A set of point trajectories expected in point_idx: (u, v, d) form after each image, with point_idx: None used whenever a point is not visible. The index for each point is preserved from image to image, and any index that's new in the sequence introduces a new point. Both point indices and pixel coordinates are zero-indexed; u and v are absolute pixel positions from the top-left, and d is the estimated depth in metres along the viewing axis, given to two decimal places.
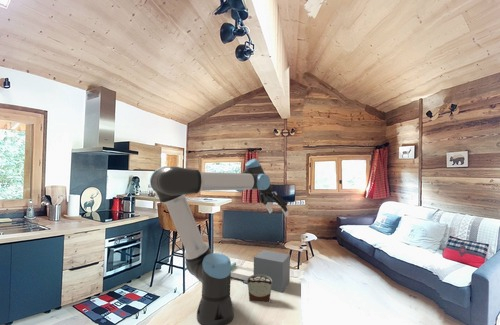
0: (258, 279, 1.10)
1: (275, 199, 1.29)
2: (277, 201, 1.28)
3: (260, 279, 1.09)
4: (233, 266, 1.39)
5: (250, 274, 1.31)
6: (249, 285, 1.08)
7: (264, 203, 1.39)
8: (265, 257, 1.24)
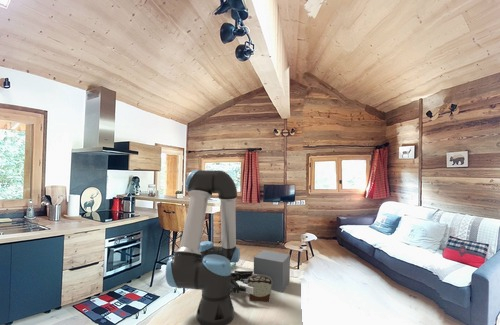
0: (258, 279, 1.10)
1: None
2: None
3: (260, 279, 1.09)
4: (233, 266, 1.39)
5: None
6: (249, 285, 1.08)
7: None
8: (265, 257, 1.24)
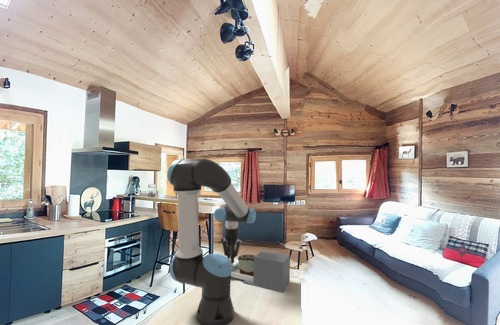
0: (248, 257, 1.32)
1: (233, 247, 1.35)
2: (233, 250, 1.35)
3: (249, 258, 1.30)
4: (236, 267, 1.38)
5: None
6: (239, 262, 1.31)
7: (228, 254, 1.36)
8: (265, 257, 1.24)
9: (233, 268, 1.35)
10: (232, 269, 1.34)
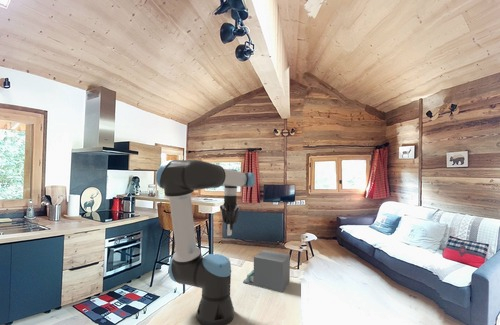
0: None
1: (232, 214, 1.37)
2: (232, 216, 1.37)
3: None
4: None
5: None
6: None
7: (227, 221, 1.38)
8: (265, 257, 1.24)
9: None
10: (253, 274, 1.29)
